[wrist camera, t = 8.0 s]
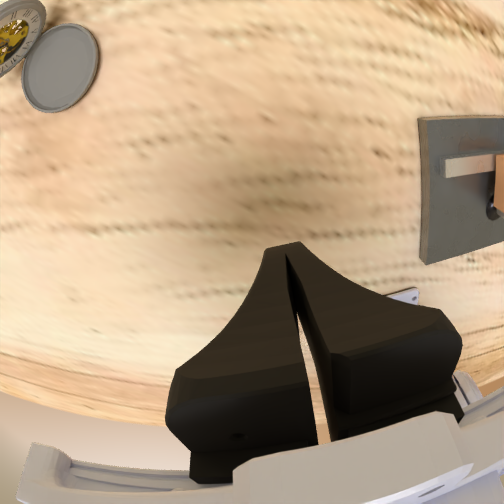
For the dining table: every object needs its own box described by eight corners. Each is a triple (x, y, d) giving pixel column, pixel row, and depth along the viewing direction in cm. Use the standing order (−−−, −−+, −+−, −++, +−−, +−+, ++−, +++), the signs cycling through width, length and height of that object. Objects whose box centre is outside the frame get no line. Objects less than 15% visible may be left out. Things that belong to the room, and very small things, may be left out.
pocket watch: (91, 114, 17) (-5, 142, 8) (8, 109, 16) (-85, 138, 7) (118, 4, 13) (37, -40, 5) (28, 12, 12) (-62, 1, 3)
